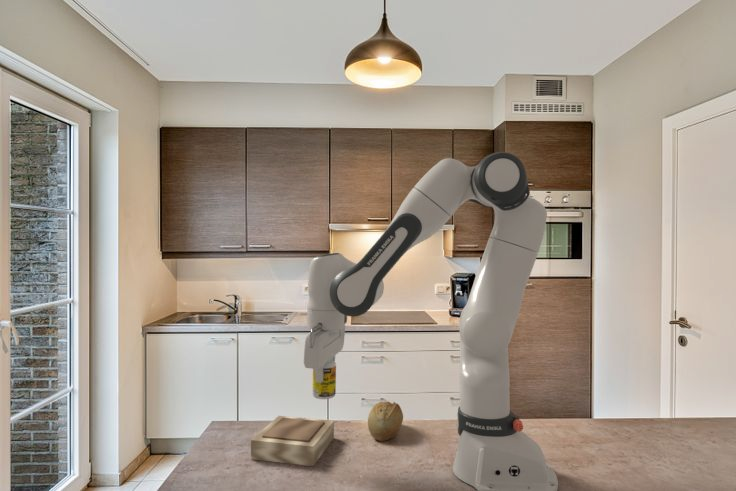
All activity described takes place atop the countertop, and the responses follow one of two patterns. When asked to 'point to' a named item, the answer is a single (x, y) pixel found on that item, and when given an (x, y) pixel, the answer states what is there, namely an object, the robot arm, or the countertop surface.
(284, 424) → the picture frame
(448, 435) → the countertop surface
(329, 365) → the supplement bottle
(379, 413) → the bread roll
